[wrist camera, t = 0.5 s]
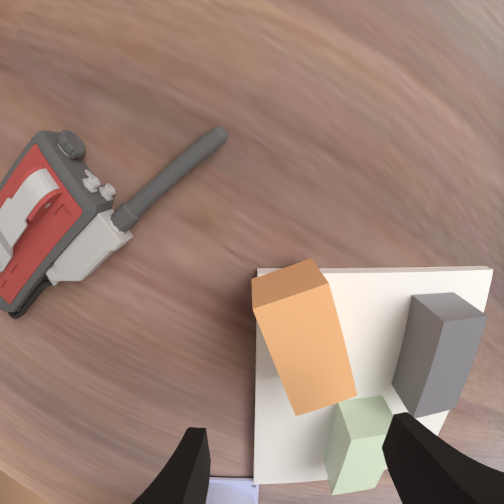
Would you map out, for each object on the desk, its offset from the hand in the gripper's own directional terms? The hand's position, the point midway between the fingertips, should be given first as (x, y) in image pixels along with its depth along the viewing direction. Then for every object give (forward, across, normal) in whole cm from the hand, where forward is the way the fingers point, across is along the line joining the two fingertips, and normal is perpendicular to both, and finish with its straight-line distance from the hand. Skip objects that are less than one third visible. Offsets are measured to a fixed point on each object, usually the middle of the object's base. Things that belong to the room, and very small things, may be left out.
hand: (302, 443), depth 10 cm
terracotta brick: (+9, -1, -1) cm, 9 cm away
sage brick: (+9, -6, +9) cm, 14 cm away
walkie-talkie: (+10, +13, -8) cm, 18 cm away
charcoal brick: (+9, -10, +1) cm, 13 cm away
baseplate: (+10, -7, +6) cm, 13 cm away
